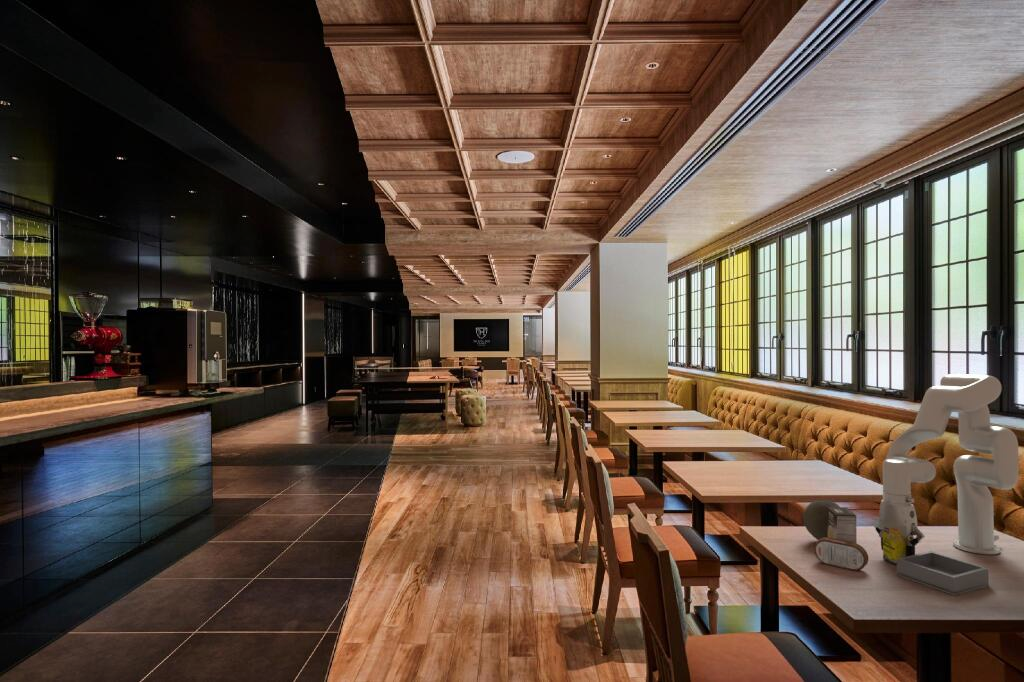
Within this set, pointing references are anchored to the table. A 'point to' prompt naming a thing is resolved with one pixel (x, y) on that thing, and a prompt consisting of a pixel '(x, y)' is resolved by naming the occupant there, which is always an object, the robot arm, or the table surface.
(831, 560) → the tin
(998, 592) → the table surface
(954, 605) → the table surface
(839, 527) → the coffee box
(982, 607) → the table surface
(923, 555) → the tote
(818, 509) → the smooth river stone
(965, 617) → the table surface
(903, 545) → the supplement box
